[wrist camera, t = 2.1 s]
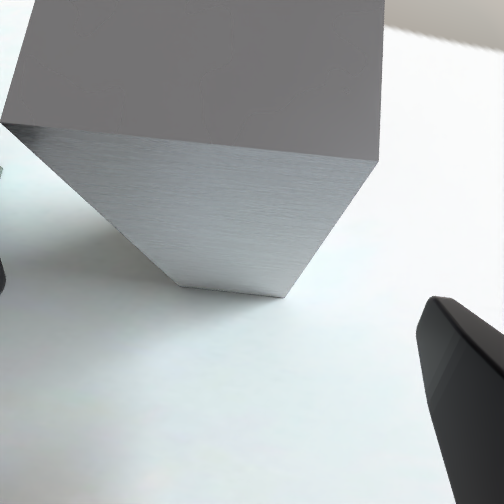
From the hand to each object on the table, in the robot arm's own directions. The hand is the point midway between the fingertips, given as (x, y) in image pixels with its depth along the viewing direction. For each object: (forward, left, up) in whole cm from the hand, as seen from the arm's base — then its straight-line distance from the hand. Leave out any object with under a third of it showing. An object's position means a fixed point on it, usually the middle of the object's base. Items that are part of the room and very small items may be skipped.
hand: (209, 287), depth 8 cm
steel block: (+3, +2, -10) cm, 11 cm away
